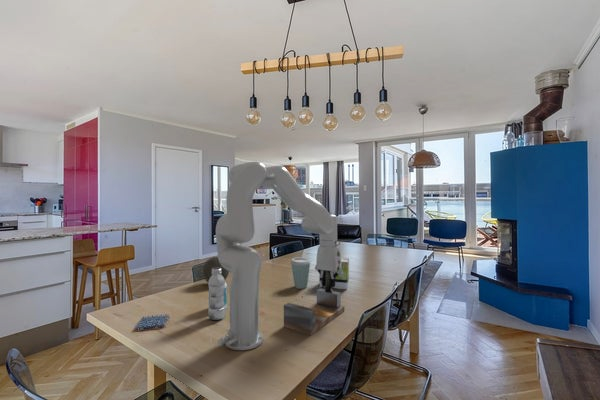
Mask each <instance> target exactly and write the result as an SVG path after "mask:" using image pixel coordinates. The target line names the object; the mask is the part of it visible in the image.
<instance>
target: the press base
mask: <svg viewBox="0 0 600 400" xmlns="http://www.w3.org/2000/svg"><path fill="white" fill-rule="evenodd" d="M344 312H345V306H344V305H341V306H340V307H338V308H334V307H330V306H326V305H322V304H318V303H317V302H315V303H313V304H311V305H310V306H308V307H306V306H303V305H299V304H295V303H291V302H287V303H284V304H283V327H285V328H287V329H291V330H294V331H296V332H299V333H303V334H306V335H308V336H312V335H313V334H315V333H316V332H318V331H319V330H321V329H322V328H323V327H325V326H326V325H327V324H328V323H330V322H332V321H333V320H334V319H336V318H337V317H338V316H339V315H341V314H342V313H344Z"/></svg>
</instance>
